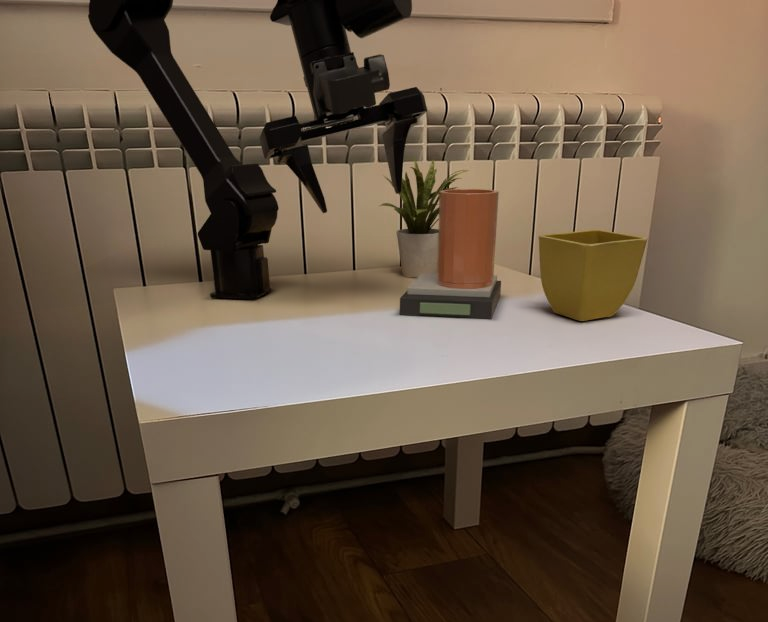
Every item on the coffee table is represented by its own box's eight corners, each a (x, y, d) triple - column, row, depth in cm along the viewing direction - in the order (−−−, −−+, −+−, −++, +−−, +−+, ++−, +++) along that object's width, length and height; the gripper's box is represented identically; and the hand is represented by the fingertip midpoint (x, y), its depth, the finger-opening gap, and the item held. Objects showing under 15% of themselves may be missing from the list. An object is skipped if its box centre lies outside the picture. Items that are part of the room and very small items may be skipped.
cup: (455, 291, 86) (458, 194, 81) (427, 281, 92) (429, 190, 87) (503, 285, 89) (509, 192, 84) (473, 276, 94) (478, 188, 89)
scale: (399, 315, 87) (399, 291, 86) (418, 293, 99) (419, 271, 97) (490, 319, 85) (492, 295, 84) (500, 296, 97) (501, 274, 95)
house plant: (475, 284, 104) (482, 157, 96) (378, 285, 103) (377, 158, 96) (464, 267, 116) (469, 153, 108) (377, 268, 116) (376, 154, 108)
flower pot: (578, 328, 81) (588, 243, 77) (530, 312, 88) (536, 234, 84) (637, 319, 85) (649, 237, 80) (586, 304, 92) (595, 228, 87)
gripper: (249, 48, 71) (295, 214, 76) (425, 9, 74) (458, 171, 79) (241, 81, 82) (283, 225, 87) (396, 46, 85) (427, 187, 90)
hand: (362, 202), depth 85 cm, fingers open, 9 cm apart
